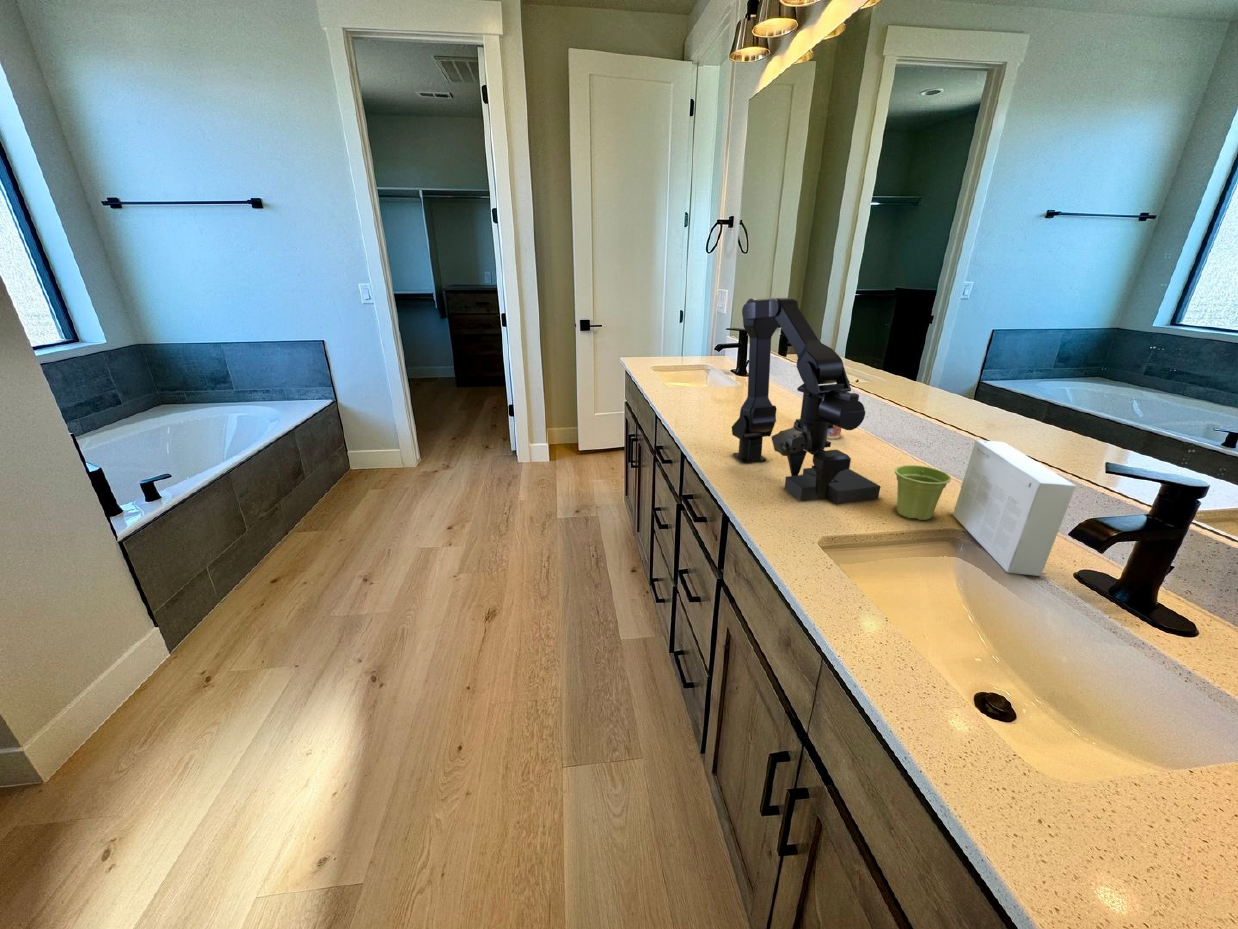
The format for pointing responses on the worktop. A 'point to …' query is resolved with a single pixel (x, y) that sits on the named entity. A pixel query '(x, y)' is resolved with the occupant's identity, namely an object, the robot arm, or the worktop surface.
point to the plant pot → (919, 490)
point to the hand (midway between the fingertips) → (805, 485)
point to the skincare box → (1012, 506)
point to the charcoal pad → (849, 487)
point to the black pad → (803, 487)
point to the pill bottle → (834, 432)
